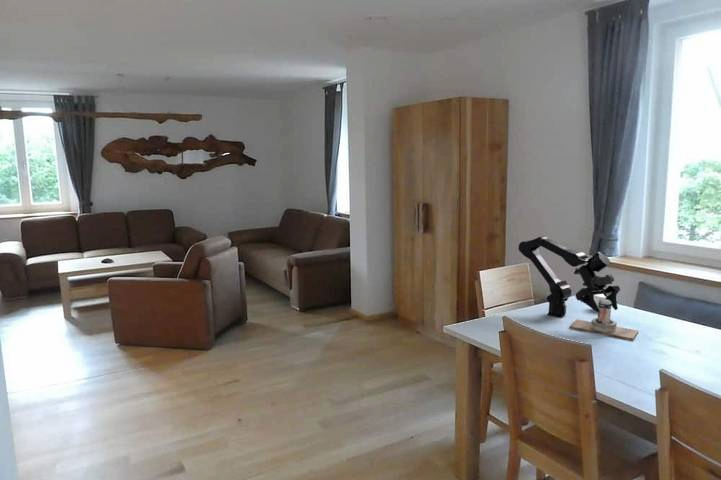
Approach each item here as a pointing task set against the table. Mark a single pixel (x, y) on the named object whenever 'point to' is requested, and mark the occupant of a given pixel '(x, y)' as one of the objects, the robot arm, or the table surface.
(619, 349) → the table surface
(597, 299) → the white cup
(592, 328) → the socket board
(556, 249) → the robot arm
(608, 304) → the beer can
